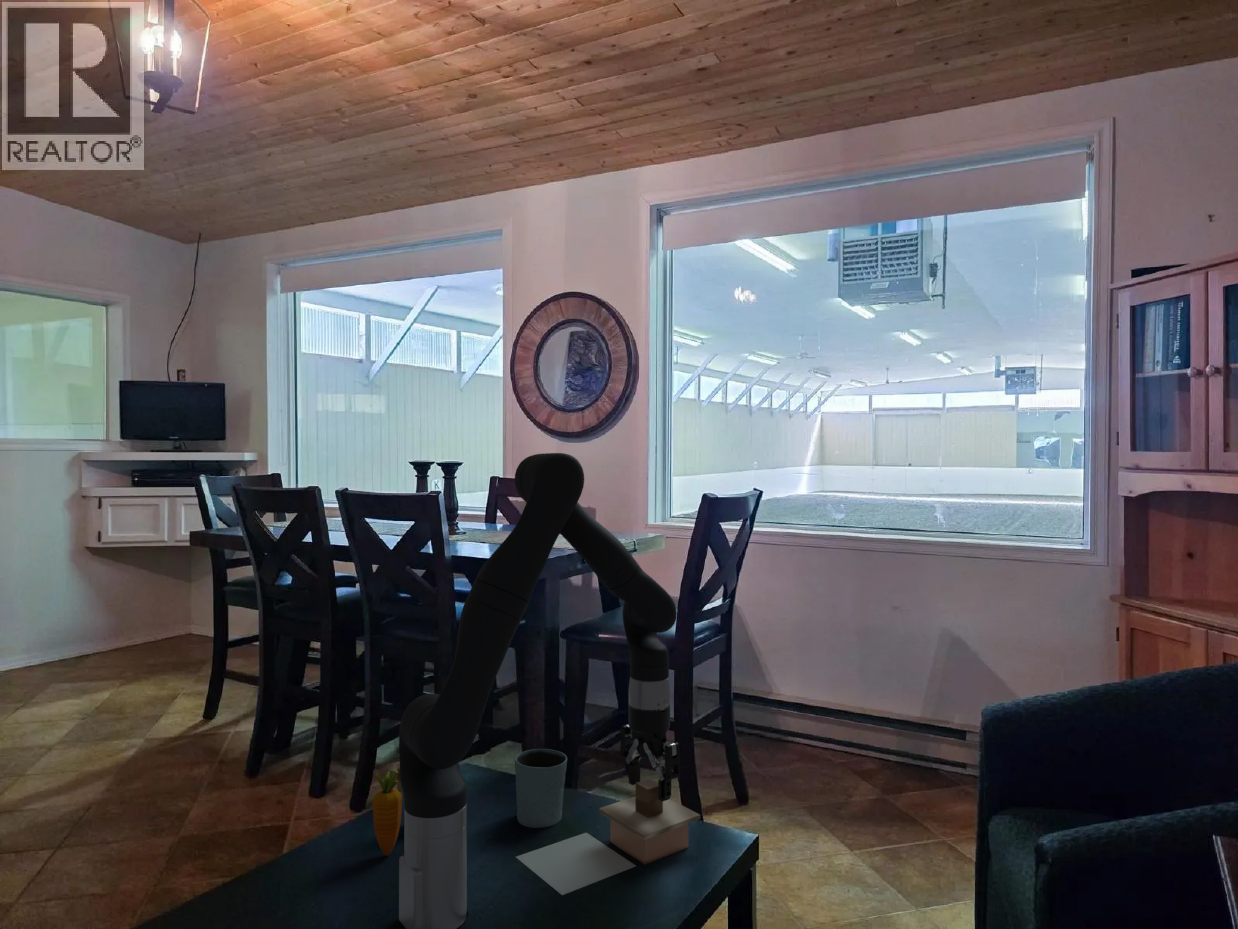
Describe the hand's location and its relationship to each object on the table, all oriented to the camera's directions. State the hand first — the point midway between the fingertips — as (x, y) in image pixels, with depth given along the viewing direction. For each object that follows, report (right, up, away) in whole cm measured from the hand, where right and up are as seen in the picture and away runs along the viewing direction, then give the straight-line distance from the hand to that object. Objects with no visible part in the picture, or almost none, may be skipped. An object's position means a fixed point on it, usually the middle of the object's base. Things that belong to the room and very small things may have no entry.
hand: (649, 791), depth 138 cm
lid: (0, -4, 0) cm, 4 cm away
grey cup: (-21, -10, +11) cm, 25 cm away
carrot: (-46, -10, -4) cm, 47 cm away
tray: (-13, -10, -6) cm, 17 cm away
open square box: (0, -10, 0) cm, 10 cm away
